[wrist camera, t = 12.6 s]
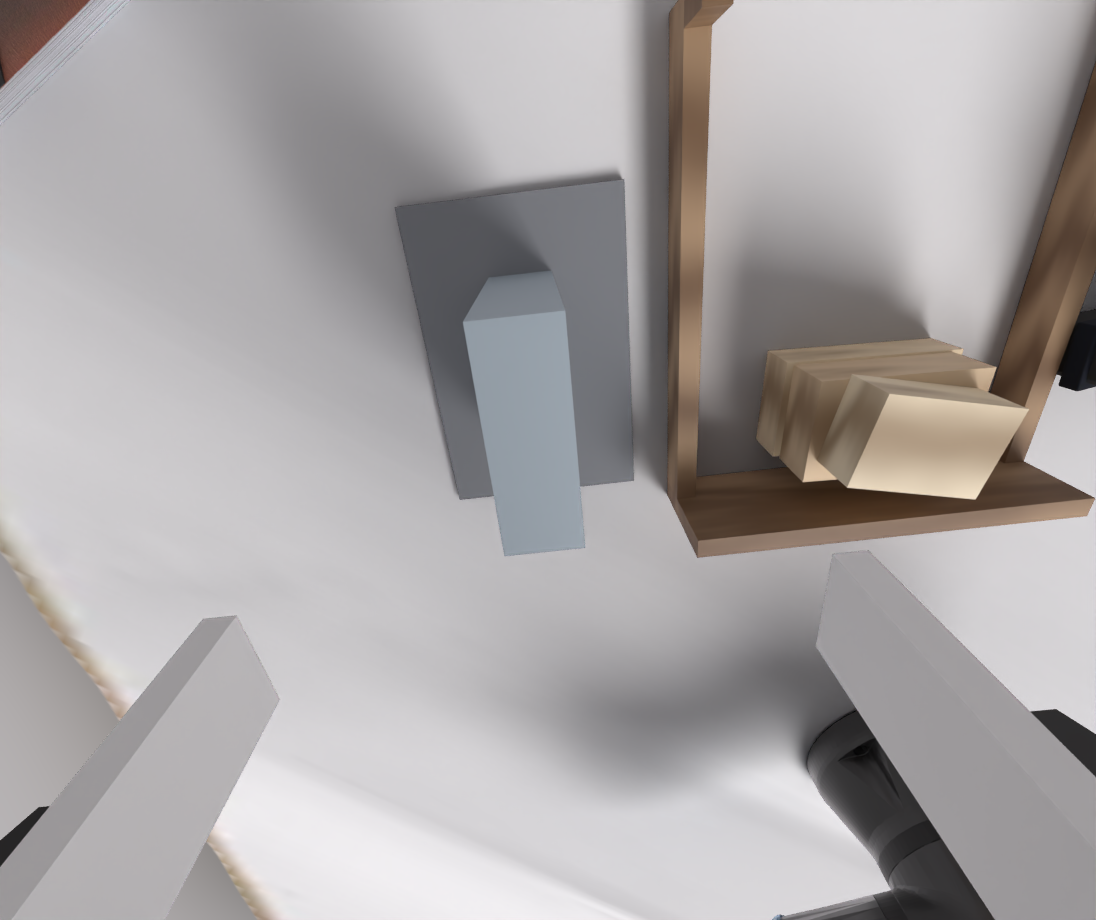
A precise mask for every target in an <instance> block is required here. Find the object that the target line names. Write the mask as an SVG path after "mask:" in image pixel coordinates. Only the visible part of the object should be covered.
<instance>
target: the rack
mask: <svg viewBox="0 0 1096 920" xmlns="http://www.w3.org/2000/svg"><path fill="white" fill-rule="evenodd" d="M732 4H733V0H678V1H677V3H676V4H675V6H674V7H673V8H672V10H671V11H670V13H669V213H668V471H667V495H668V497H669V499H670V501H671V503H672V506H673V508H674V510H675V512H676V514H677V516H678V518H679V520H680V522H681V524H682V526H683V528H684V531H685V533H686V535H687V537H688V539H689V541H690V543H691V545H692V547H693V549H694V551H695V553H696V555H697V558H699V557H708V556H718V555H727V554H736V553H746V552H755V551H764V550H774V549H783V548H792V547H802V546H811V545H821V544H830V543H839V542H849V541H858V540H867V539H877V538H886V537H895V536H905V535H914V534H924V533H933V532H942V531H952V530H961V529H970V528H980V527H989V526H998V525H1008V524H1017V523H1027V522H1036V521H1045V520H1055V519H1064V518H1073V517H1083V516H1087V515H1088V513H1089V510H1090V508H1091V506H1092V504H1093V502H1094V500H1095V498H1094V497H1092V496H1090V495H1088V494H1086V493H1084V492H1082V491H1080V490H1078V489H1076V488H1074V487H1072V486H1071V485H1069V484H1067V483H1065V482H1063V481H1061V480H1059V479H1057V478H1055V477H1053V476H1051V475H1049V474H1047V473H1045V472H1043V471H1041V470H1039V469H1037V468H1035V467H1034V466H1032V465H1030V464H1028V463H1026V462H1024V459H1025V456H1026V453H1027V451H1028V448H1029V445H1030V443H1031V440H1032V437H1033V435H1034V432H1035V430H1036V427H1037V424H1038V422H1039V419H1040V416H1041V414H1042V411H1043V408H1044V406H1045V403H1046V400H1047V398H1048V395H1049V392H1050V390H1051V387H1052V384H1053V382H1054V379H1055V376H1056V374H1057V371H1058V368H1059V366H1060V363H1061V360H1062V358H1063V355H1064V352H1065V350H1066V347H1067V344H1068V342H1069V339H1070V336H1071V334H1072V331H1073V328H1074V326H1075V323H1076V321H1077V318H1078V315H1079V313H1080V310H1081V307H1082V305H1083V302H1084V299H1085V297H1086V294H1087V291H1088V289H1089V286H1090V283H1091V281H1092V278H1093V275H1094V273H1095V270H1096V63H1095V66H1094V70H1093V73H1092V76H1091V79H1090V82H1089V85H1088V88H1087V92H1086V95H1085V98H1084V101H1083V104H1082V107H1081V110H1080V113H1079V117H1078V120H1077V123H1076V126H1075V129H1074V132H1073V135H1072V139H1071V142H1070V145H1069V148H1068V151H1067V154H1066V157H1065V161H1064V164H1063V167H1062V170H1061V173H1060V176H1059V179H1058V183H1057V186H1056V189H1055V192H1054V195H1053V198H1052V201H1051V204H1050V208H1049V211H1048V214H1047V217H1046V220H1045V223H1044V226H1043V230H1042V233H1041V236H1040V239H1039V242H1038V245H1037V248H1036V252H1035V255H1034V258H1033V261H1032V264H1031V267H1030V270H1029V273H1028V277H1027V280H1026V283H1025V286H1024V289H1023V292H1022V295H1021V299H1020V302H1019V305H1018V308H1017V311H1016V314H1015V317H1014V321H1013V324H1012V327H1011V330H1010V333H1009V336H1008V339H1007V342H1006V346H1005V349H1004V352H1003V355H1002V358H1001V361H1000V364H999V368H998V371H997V374H996V377H995V380H994V383H993V386H992V390H991V394H994V395H996V396H998V397H1001V398H1003V399H1006V400H1008V401H1011V402H1013V403H1016V404H1018V405H1021V406H1023V407H1026V408H1028V409H1029V411H1028V412H1027V414H1026V416H1025V417H1024V419H1023V421H1022V422H1021V424H1020V426H1019V427H1018V429H1017V431H1016V432H1015V434H1014V436H1013V438H1012V439H1011V441H1010V443H1009V444H1008V446H1007V448H1006V449H1005V451H1004V453H1003V454H1002V456H1001V458H1000V459H999V461H998V463H997V464H996V466H995V468H994V469H993V471H992V473H991V474H990V476H989V478H988V479H987V481H986V483H985V484H984V486H983V488H982V489H981V491H980V493H979V495H978V496H977V498H976V500H975V499H965V498H954V497H943V496H932V495H921V494H911V493H900V492H889V491H878V490H867V489H856V488H847V487H846V486H845V485H844V484H842V483H841V482H840V481H839V480H838V479H837V480H824V481H812V482H802V481H801V480H800V479H799V478H798V477H797V476H796V475H795V474H794V473H793V472H792V471H791V470H790V469H789V468H788V467H783V468H774V469H765V470H756V471H747V472H738V473H729V474H720V475H711V476H701V477H696V470H697V441H698V412H699V383H700V354H701V325H702V296H703V267H704V238H705V209H706V180H707V151H708V122H709V93H710V64H711V35H712V24H713V23H714V22H715V21H716V20H717V19H718V18H719V17H720V16H721V15H722V14H723V13H724V12H725V11H726V10H727V9H728V8H729V7H730V6H731V5H732Z"/></svg>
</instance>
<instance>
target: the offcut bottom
mask: <svg viewBox="0 0 1096 920" xmlns="http://www.w3.org/2000/svg"><path fill="white" fill-rule="evenodd" d="M963 350H964V349H962V348H959V347H956V346H953V345H950V344H947V343H944V342H941V341H938V340H935V339H932V338H925V339H912V340H899V341H886V342H874V343H861V344H848V345H835V346H822V347H810V348H797V349H784V350H771V351H768V354H767V361H766V369H765V376H764V383H763V391H762V398H761V406H760V413H759V420H758V428H757V435H756V440H757V441H758V442H759V443H760V444H761V445H762V446H763V447H764V448H765V449H766V450H767V451H768V452H769V453H770V454H771V455H772V456H773V457H775V456H780V451H781V445H782V438H783V432H784V426H785V419H786V413H787V407H788V400H789V394H790V388H791V381H792V375H793V369H794V365H798V364H810V363H822V362H835V361H847V360H859V359H871V358H883V357H896V356H908V355H920V354H932V353H944V352H954V353H957V354H960V355H962V353H963Z"/></svg>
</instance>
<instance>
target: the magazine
mask: <svg viewBox="0 0 1096 920" xmlns="http://www.w3.org/2000/svg"><path fill="white" fill-rule="evenodd" d="M1057 375H1060V376H1061V379H1060V382H1059V386H1061V387H1065V388H1068V389H1071V390H1074V391H1080V390H1084V389H1088V388H1092V387H1096V309H1095V310H1090V311H1085V312H1080V313H1079V315H1078V318H1077V321H1076V323H1075V326H1074V328H1073V331H1072V334H1071V336H1070V339H1069V342H1068V344H1067V347H1066V350H1065V352H1064V355H1063V358H1062V360H1061V363H1060V366H1059V368H1058V371H1057Z"/></svg>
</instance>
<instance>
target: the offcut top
mask: <svg viewBox="0 0 1096 920" xmlns="http://www.w3.org/2000/svg"><path fill="white" fill-rule="evenodd" d="M1028 411H1029V409H1028V408H1026V407H1023V406H1021V405H1018V404H1016V403H1013V402H1011V401H1008V400H1006V399H1003V398H1001V397H998V396H996V395H994V394H991V393H989V392H986V391H984V390H981V389H979V388H971V387H962V386H953V385H944V384H935V383H926V382H918V381H909V380H900V379H890V378H881V377H873V376H864V375H855V374H852V375H851V378H850V381H849V383H848V385H847V388H846V390H845V393H844V395H843V398H842V400H841V402H840V405H839V407H838V410H837V412H836V415H835V417H834V420H833V422H832V424H831V427H830V429H829V432H828V434H827V437H826V439H825V441H824V444H823V446H822V449H821V451H820V454H819V456H818V459H817V461H818V462H819V463H820V464H821V465H822V466H823V467H825V468H826V469H827V470H828V471H829V472H830V473H831V474H832V475H833V476H835V477H836V478H837V479H838V480H839V481H840V482H841V483H842V484H844V485H845V486H846V487H847V488H856V489H867V490H878V491H889V492H900V493H911V494H921V495H932V496H943V497H954V498H965V499H975V500H976V498H977V496H978V495H979V493H980V491H981V489H982V488H983V486H984V484H985V483H986V481H987V479H988V478H989V476H990V474H991V473H992V471H993V469H994V468H995V466H996V464H997V463H998V461H999V459H1000V458H1001V456H1002V454H1003V453H1004V451H1005V449H1006V448H1007V446H1008V444H1009V443H1010V441H1011V439H1012V438H1013V436H1014V434H1015V432H1016V431H1017V429H1018V427H1019V426H1020V424H1021V422H1022V421H1023V419H1024V417H1025V416H1026V414H1027V412H1028Z"/></svg>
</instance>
